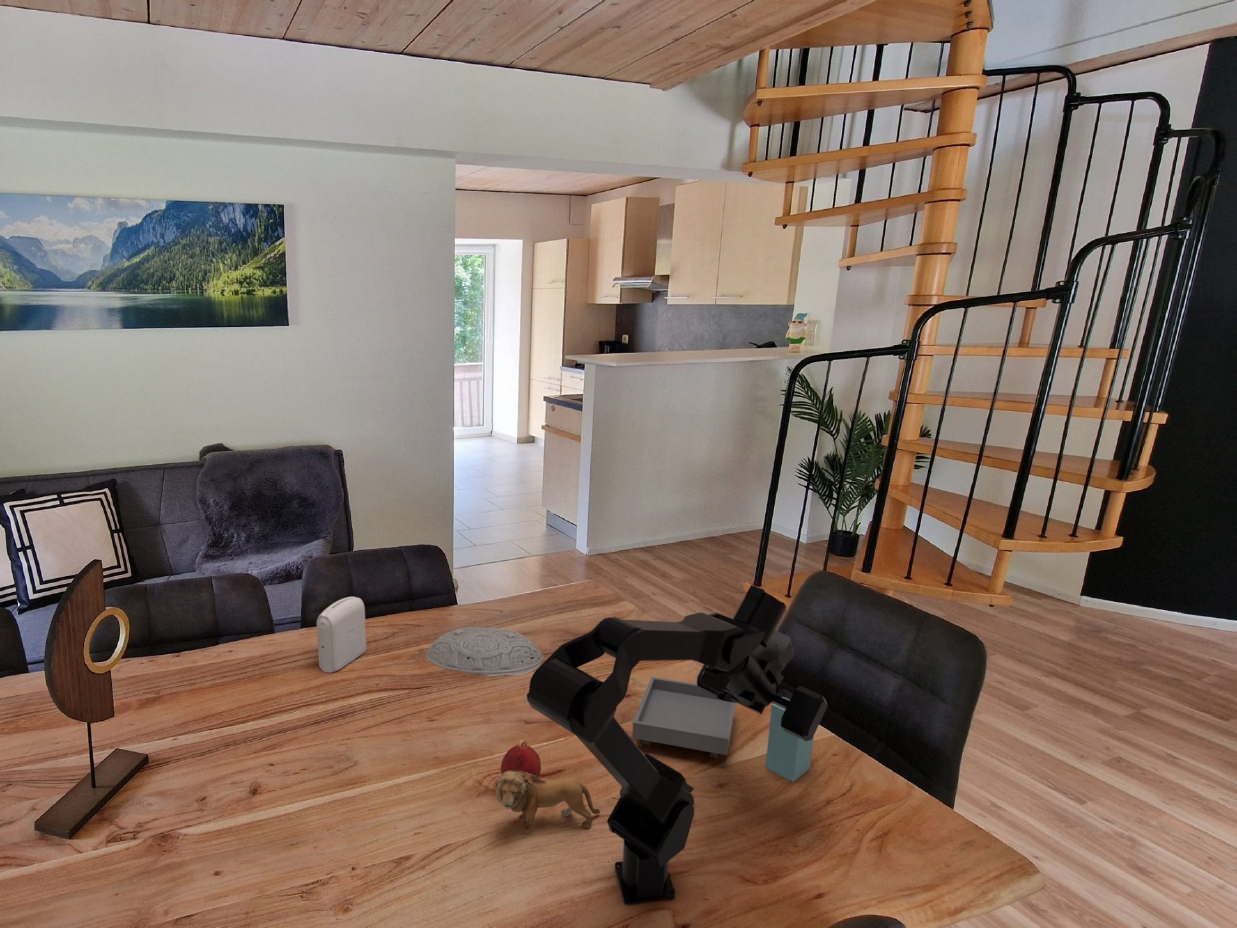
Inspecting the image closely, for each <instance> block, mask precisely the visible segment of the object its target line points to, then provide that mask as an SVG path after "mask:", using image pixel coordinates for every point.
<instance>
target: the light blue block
mask: <svg viewBox="0 0 1237 928" xmlns="http://www.w3.org/2000/svg"><path fill="white" fill-rule="evenodd" d="M782 698H784V697H782ZM785 699H786V697H785ZM787 700H788V699H787ZM784 712H785V709H784V708H782V707H779V706H777V705H775V704H773V703H771V709H770V719H769V730H768V737H767V738H768V740H767V748H766V749H767V750H766V751H767V752H766V761H765V768H766V769H768V770H770V771H771V772H774V773H775V774H777V775H779V776H781V777H783V778H785V779H786V780H789V781H790V782H792V783H795V782H796V781H797V780H798V779H799V778H800V777H801V776H803V775H804V774H805V773H806V772H808V770H810V769H811V763H812V753H813V746H814V745H813V744H814V739H815V738H814V736H815V735H814V736H813V738H812V740H809V741H804V740H802V739H800V738H798V737H796V736H794V735H792V734H790V733H788V732H786V731H784V729H783V728H782V727H781V718H782V716H783V714H784Z"/></svg>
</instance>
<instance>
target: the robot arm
mask: <svg viewBox="0 0 1237 928" xmlns="http://www.w3.org/2000/svg"><path fill="white" fill-rule="evenodd" d="M787 608H788V607H787V605H786V604H785V603H784V601H781V600H779V599H778V598H776V597H774V596H773V595H772V594H769V593H768V592H766V590H765V589H764V588H761V587H759V586H756V585H752V584H751V585H750V586H749V588H748V590H747V591H746V593H745V595H744V597H743V599H742V601H741V603H740V605H739V606H738V608H737V610H736V611H735V613H734V615H733V617H732V618H731V617H730V616H729V617H728V616H726V615H724V614H721V613H719V612H712V613H708V614H707V613H704V612H703V611H702V612H696V613H693V614H687V615H685V616H683V619H682V620H681V621H660V620H659V621H658V620H641V619H639V620H638V619H621V618H619V617H616V616H608V617H604V618H603V619H602V620H601V621H600V622H598V623H597V624H596V625H595V627H593V628H592V629H591V630H590V632H587V633H585V634H582V635H580V636H578V637H575V638H574V639H571V640H569V641H567V642H564V643H562V644H561V645H560V646H559V647H558V648H556V649H555V651H554V652H553V653H552V654H551V655H550V656H548V658H547V659H545V660H544V661H543V662H542V663H541V664H540V665H539V666H538V667H537V668H536V669H535V672H533V674H532V676H531V678H530V680H529V686H528V687H529V689H528V693H526V699H527V700H526V701H527V702H528V704H529V705H530V707H531V708H532V709H533V710H535V711H536V712H539V713H540V714H541V715H543V716H545V717H546V718H548V719H550V720H551V721H553V722H554V723H556V724H557V725H559V726H561V727H562V728H563V729H565V730H567V731H569V732H570V733H572V734H573V735H575V736H576V738H577V739H579V741H580V742H581V743H582V744H583V745H584V746H585V747H586V748H587V750H588V751H589V752H590V753H591V754H592V755H593V756H594V757H595V759H596V760H597V761H598V762H599V763H600V764H601V765H602V766H603V767H604V768H605V769H606V771H607V772H608V773H609V774H610V775H611V777H613V779H614V780H615V781H616V782H617V783H618V784H619V786H621V788H620V790H619V798H618V800H617V802H616V804H615V806H614V807H613V809H612V811H611V812H610V814H609V816H608V818H607V820H606V822H607V826H608V830H609V832H611V833H613V834H616V836H618V837H619V838H621V839H622V840H623V847H622V848H623V850H622V851H623V852H622V860H620V861H616V862H614V870H615V873H616V874H615V875H616V878H617V882H618V884H619V890H620V893H621V898H622V900H623V903H624V904H626V905H633V904H639V903H640V904H641V903H648V902H656V901H665V900H671V899H675V898H676V890H675V887H674V884H673V882H672V881H673V880H672V878H671V875H670V873H669V862H670V860H672V859H673V858H675V857H676V856H677V855H678V854H679V853H680V852H682V851H683V850H684V849H685V847H686V845H687V841H688V837H689V833H690V830H691V826H692V822H693V819H694V815H695V807H694V805H695V798H694V796H693V794H692V792H693V791H694V786H692V785H690V784H689V783H688V782H687V780H686V778H685V776H684V774H682V773H681V772H680V771H677V770H676V769H674V768H673V767H671V766H670V765H668V764H666V763H665V762H663V761H661V760H659V759H658V758H657V757H654V756H652V755H651V754H649V753H648V752H645V753H643V751H642V750H641V749H640V747H638V745H637V744H636V743H635V742H634V740H633V738H632V737H631V736H629V734H628V733H627V732H626V730H624V728H623V727H622V726H621V725H620V723H619V722H618V720H617V719H616V718H615V715H616V713H617V707H618V706H619V705H620V703H622V702H623V700H624V699H625V698H626V696H627V693H628V689H629V683H630V679H631V674H632V670H634V668H635V667H636V666H637V665H638V664H639V662H657V661H658V662H659V661H661V662H663V661H664V662H665V661H669V662H670V661H694V662H697V663H698V664H699V663H700V664H702V667H701V668H700V670H699V672H698V674H697V675H696V684H697V686H698V687H699V688H700V689H701V690H702V691H704V692H706V693H708V694H710V695H712V696H714V697H716V698H718V699H720V700H722V701H727V702H733V703H736V704H738V705H740V706H743V707H745V708H746V709H749V710H752V711H753V712H756V713H757V714H760V715H762V714H763V712H764V710H765V709H766V707H768V706H769V705H770V704H775V705H777V706H779V707H782V708H784V709H785V712H784V714H783V716H782V718H781V727H782V728H783V729H784V731H786V732H788V733H790V734H792V735H794V736H796V737H798V738H800V739H802V740H804V741H809V740H812V738H813V736H815V734H816V732H817V729H818V727H819V726H820V723H821V722H822V719H823V717H824V714H825V713H826V710H827V709H828V705H829V704H828V703H827V700H826V698H825V697H824V696H823V695H822V694H820V693H818V692H816V691H813V690H811V689H810V688H809V689H808V688H807V687H804V686H803V685H802V686H801V685H800V686H798V687H796V688H795V689H794V692H790V691H789V690H786V689H783V688H781V687H779V686H780V685H781V684H782V682H783V679H784V676H783V675H782V673H781V672H782V671H783V670H784V669H785V668H786V666H787V665H788V664H789V662H790V661H791V660H792V659H794V656H795V652H794V648H793V642H792V639H791V636H789V634H788V635H787V634H785V633H782V632H780V631H777V628H778V626H779V624H780V623H781V621H782V619H783V616H784V614H785V612H786V610H787ZM605 654H606V655H608V656H610V657H612V658H613V659H615V660H614V663H613V669H612V672H611V673H610V674H609V676H608V677H607V678H606V679H605V680H599V679H598V678H596V677H595V676H593V675H592V674H589V673H587V672H585V671H584V670H581V669H580V668H579V667H582V666H584V665H586V664H588V663H591V662H593V661H595V660H596V659H598V658H599V659H600V658H601V657H603V656H604V655H605ZM782 697H784V698H782ZM785 697H786V699H785ZM787 699H788V700H787ZM813 739H814V738H813Z"/></svg>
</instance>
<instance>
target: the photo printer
mask: <svg viewBox="0 0 1237 928" xmlns="http://www.w3.org/2000/svg"><path fill="white" fill-rule="evenodd" d="M366 629H367V628H366V609H365V604H364V601H363V600H362V599H361V598H360V597H356V596H348V597H344V598H341V599H339V600H337V601H335V602H333V603H332V604H330V605H329V606H328V607H326V608H325V609H324V610H323V611H322V612H321V613H320V614H319V616H318V617H317V619H316V631H317V632H316V633H317V635H316V636H317V651H318V652H317V653H318V666H319V668H320V669H321V671H322V672H324V673H330V674H332V673H334V672H338V671H339V670H341V669H342V668H344V667H345V666H347V665H348V664H350V663H352V662H353V661H355V660H357V658H359V657H360V656H362V655H364V653H365V652H366V650H367V635H366V634H367V633H366V632H367V631H366Z"/></svg>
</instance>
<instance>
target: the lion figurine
mask: <svg viewBox="0 0 1237 928" xmlns="http://www.w3.org/2000/svg"><path fill="white" fill-rule="evenodd" d="M589 791H590V790H589V789H588V788H587V786H586V785H585V784H584V783H583V782H582V781H580V780H579V779H577V778H575V777H571V776H565V777H562V778H561V777H560V778H558V779H557V778H556V779H548V780H545V779H544V780H543V779H540V778H539V777H537V776H535V775H532V774H528V773H527V772H526V773H524V772H523V771H518V770H513V771H511V770H510V771H507V772H504V773H503V774H502V775H501V774H500V776H499V779H497V782H496V793H495V795H496V799H497V801H498V803H500V804H501V805H503V806H504V808H505V809H506V810H508V809H511V811H512V812H514V813H520V812H521V814H520V815H518V816H517V820H518V822H521V823H523V822H525V821H526V822H527V825H526V826H524V828H523V833H524V834H525V835H531V834H532V833H533V832H534V829H535V826H536V825H535V817H536V814H537V812H538V809H539V808H541V809H545V808H553V807H555V806H557V805H559V804H560V803H563V802H565V803H566V804H567V805H568V807H567V808H563V809H562V810H561V815H562V816H564V817H569V816H570V815H571V813H573V812H574V813H575V814H577V815H579V816H580V817H583V818H585V820H584V821H582V823H581V827H582V828H583V829H584V830H585V829H586V830H587V829H590V828H591V827H592V813H593V814H595V815H598V814H600V813H601V810H600V809H599V808H594V806H593V801H592V798H591V794H590V792H589ZM583 794H584V795H583ZM583 796H585V799H586V802H587V805H588V808H589V809H588V808H587V807H586V805H585V803H584V797H583Z"/></svg>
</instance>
